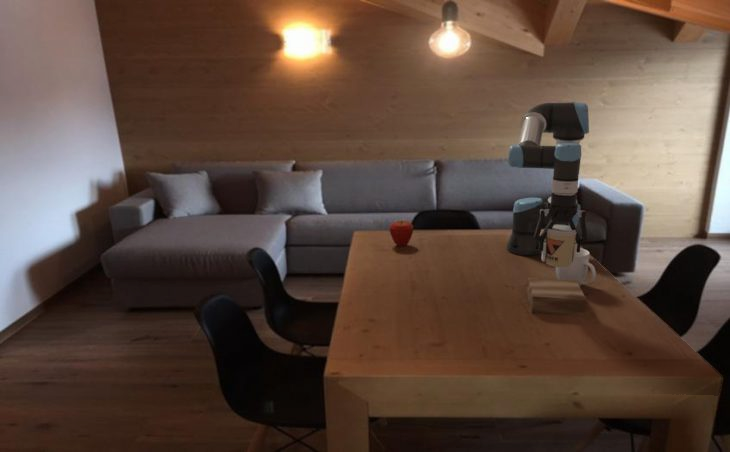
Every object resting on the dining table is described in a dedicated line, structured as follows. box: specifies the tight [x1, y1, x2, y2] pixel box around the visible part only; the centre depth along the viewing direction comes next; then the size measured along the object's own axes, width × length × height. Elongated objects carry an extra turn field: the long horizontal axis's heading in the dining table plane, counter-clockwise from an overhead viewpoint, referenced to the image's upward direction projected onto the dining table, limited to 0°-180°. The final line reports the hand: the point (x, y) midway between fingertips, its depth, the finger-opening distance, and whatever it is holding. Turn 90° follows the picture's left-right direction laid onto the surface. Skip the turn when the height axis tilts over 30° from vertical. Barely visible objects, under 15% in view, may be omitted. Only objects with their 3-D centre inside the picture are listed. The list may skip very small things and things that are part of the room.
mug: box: [555, 247, 597, 287], centre depth 180 cm, size 15×11×13 cm
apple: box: [389, 220, 414, 247], centre depth 230 cm, size 11×11×12 cm
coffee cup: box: [545, 225, 578, 268], centre depth 161 cm, size 9×9×12 cm
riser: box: [526, 277, 587, 318], centre depth 166 cm, size 16×16×6 cm
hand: (558, 260), depth 163 cm, fingers closed on coffee cup, 9 cm apart
